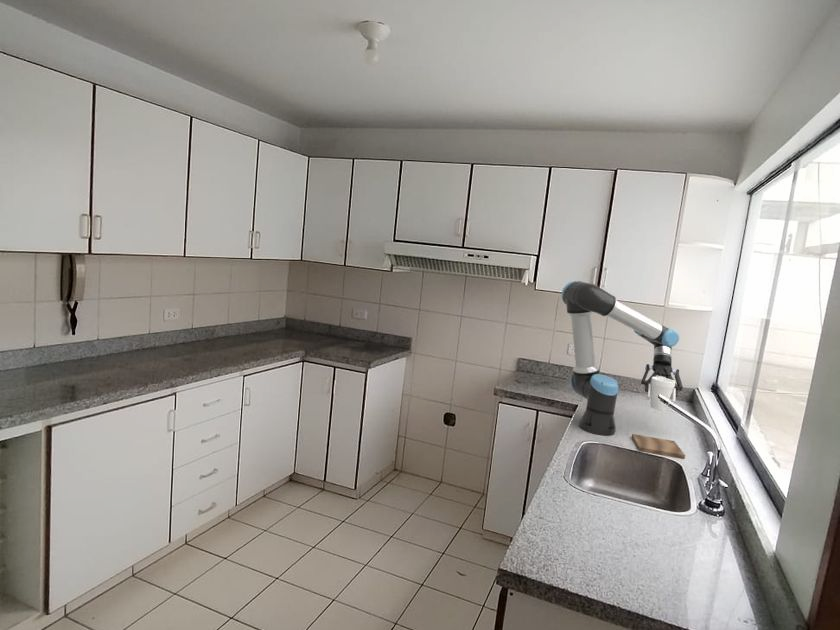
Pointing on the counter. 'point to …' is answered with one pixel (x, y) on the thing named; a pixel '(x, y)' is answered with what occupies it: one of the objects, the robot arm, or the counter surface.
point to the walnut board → (657, 446)
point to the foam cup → (660, 391)
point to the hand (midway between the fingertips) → (661, 400)
